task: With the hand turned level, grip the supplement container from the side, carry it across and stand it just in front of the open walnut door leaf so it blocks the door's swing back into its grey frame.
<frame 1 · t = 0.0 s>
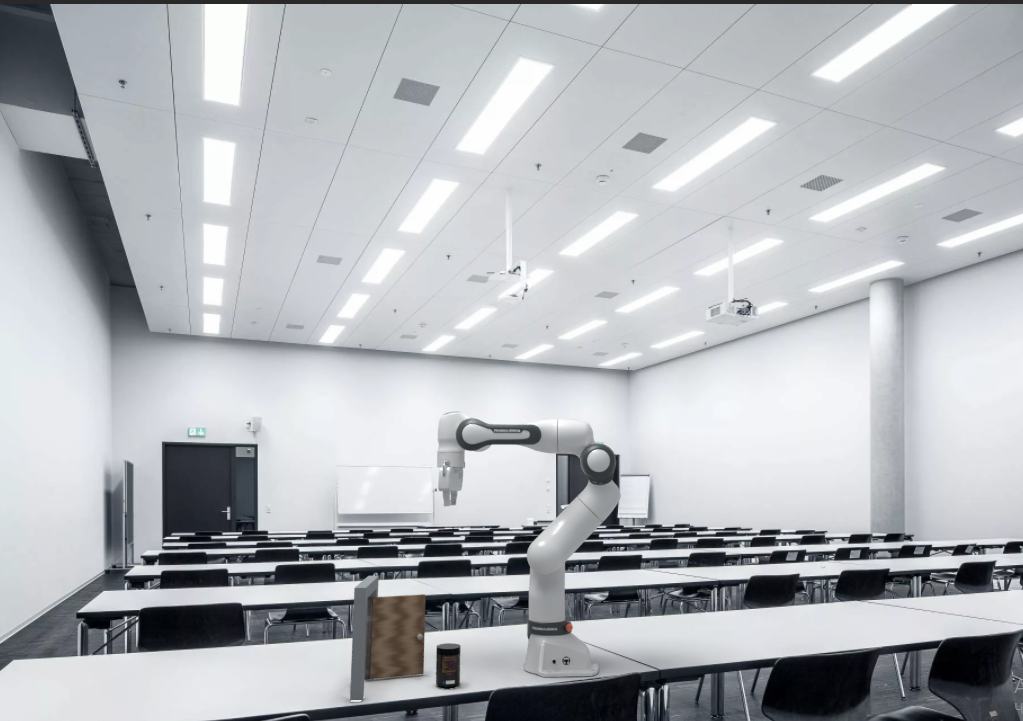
hand: (450, 505, 218), 48 cm above the table, tool pointing down, fingers open, 8 cm apart
door frame: (367, 680, 193), on the table
supplement container: (447, 686, 188), on the table
door: (396, 636, 197), point 11 cm above the table, hinge at 107.6°
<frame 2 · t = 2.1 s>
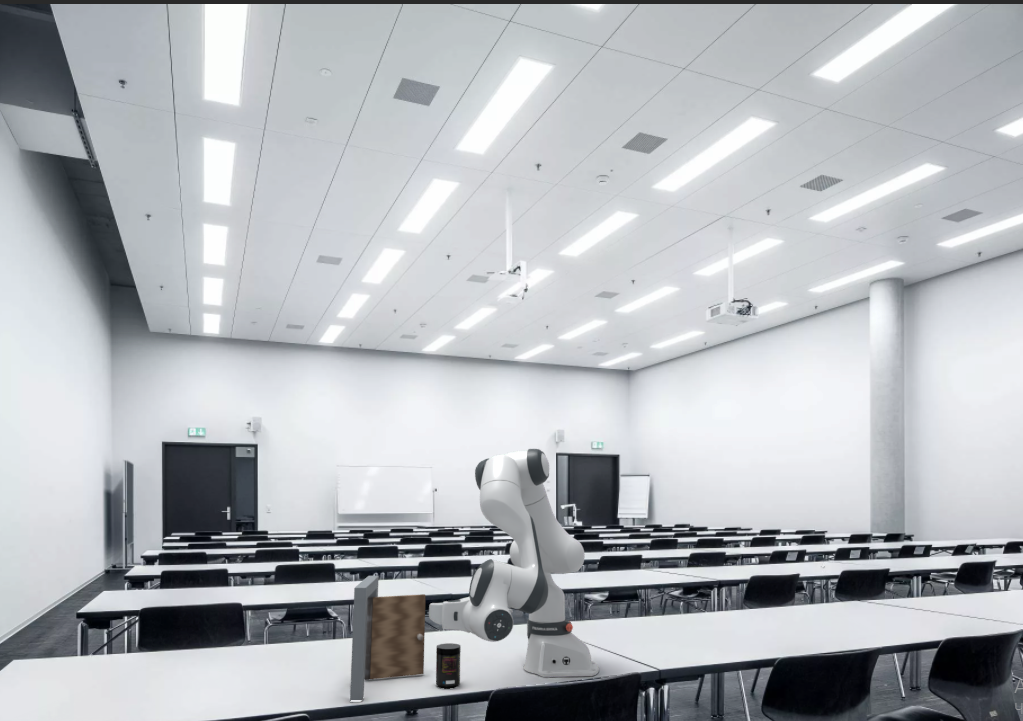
hand: (460, 606, 182), 23 cm above the table, tool horizontal, fingers open, 8 cm apart
nothing on the table moved.
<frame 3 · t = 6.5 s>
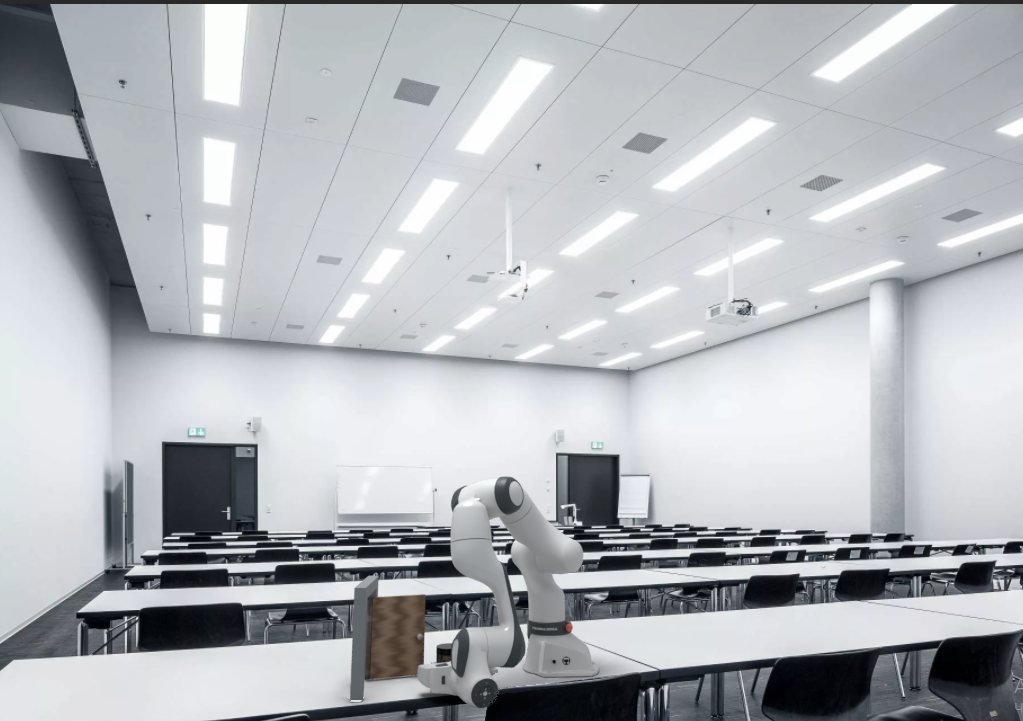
hand: (447, 663, 190), 6 cm above the table, tool horizontal, fingers closed on supplement container, 7 cm apart
supplement container: (447, 686, 188), on the table, touching gripper
everything else where it was.
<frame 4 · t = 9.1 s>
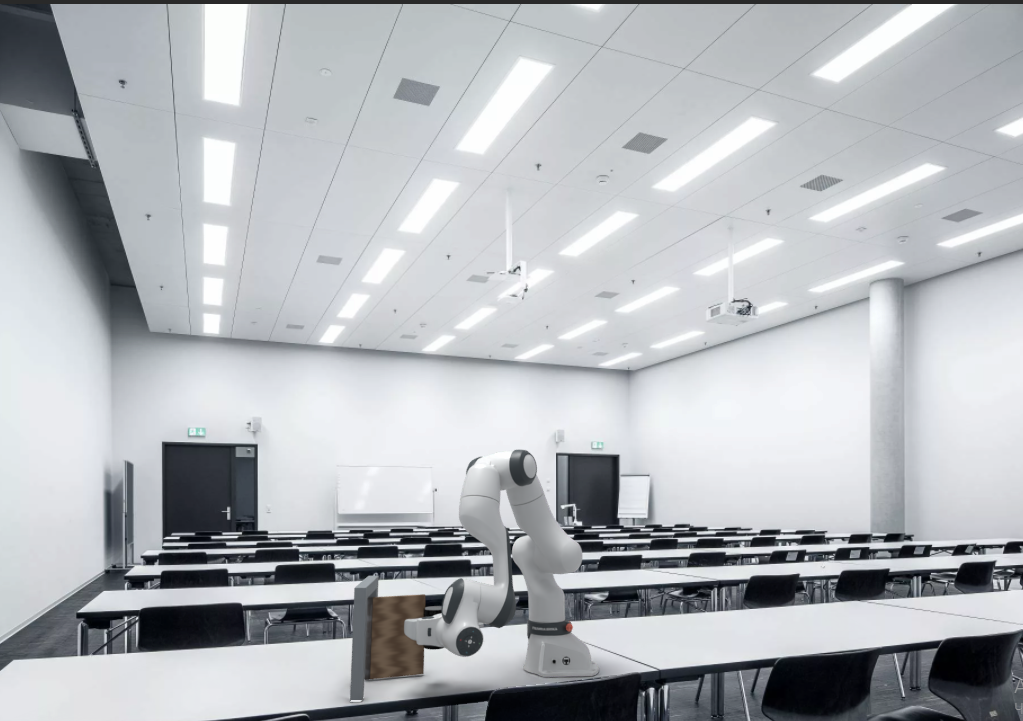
hand: (434, 620, 192), 17 cm above the table, tool horizontal, fingers closed on supplement container, 7 cm apart
supplement container: (434, 648, 190), point 10 cm above the table, touching gripper
everything else where it was.
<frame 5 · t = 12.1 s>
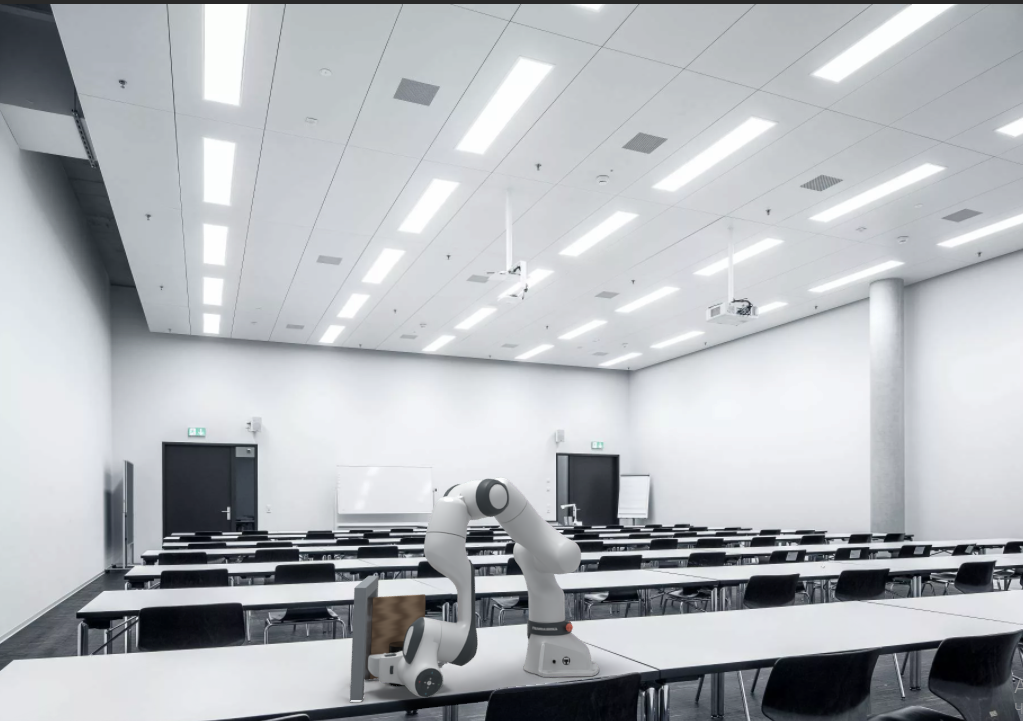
hand: (399, 654, 193), 7 cm above the table, tool horizontal, fingers closed on supplement container, 7 cm apart
supplement container: (399, 684, 190), on the table, touching gripper
everything else where it was.
when the fingers open (7 cm above the table, at t = 12.3 s): supplement container stays where it is, on the table.
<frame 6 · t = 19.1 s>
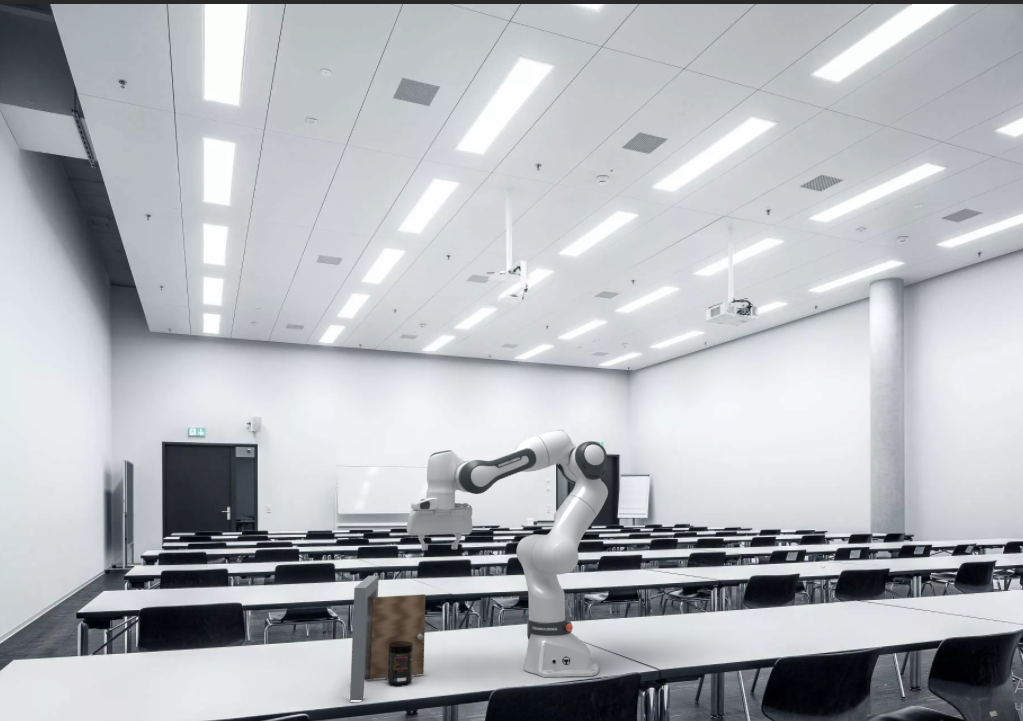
hand: (439, 549, 208), 35 cm above the table, tool pointing down, fingers open, 8 cm apart
supplement container: (399, 684, 190), on the table
everything else where it was.
at the end: supplement container inside the target area (0.2 cm from its centre), on the table; supplement container tilted 0°; door at +108° (first picture: +108°) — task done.
